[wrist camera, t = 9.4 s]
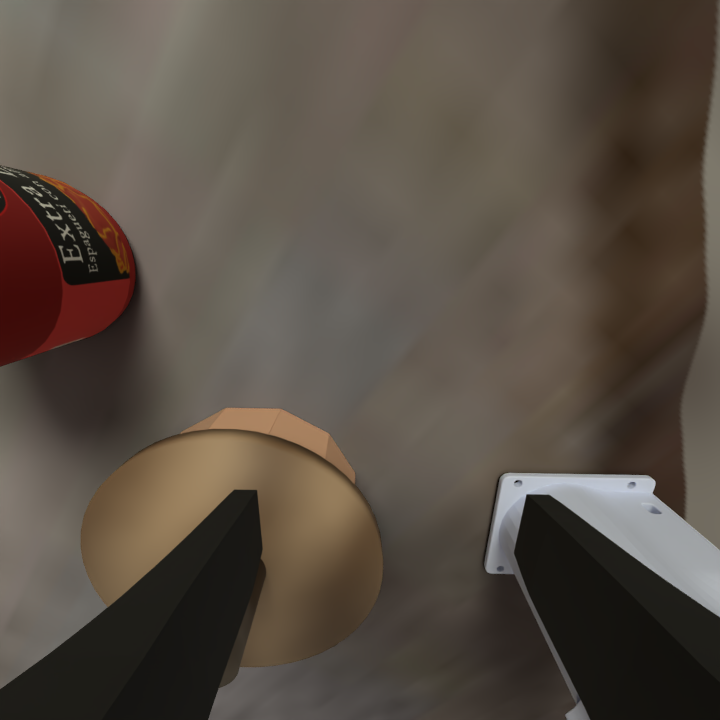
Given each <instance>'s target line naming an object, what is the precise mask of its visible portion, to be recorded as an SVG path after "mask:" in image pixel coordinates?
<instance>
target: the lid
mask: <svg viewBox="0 0 720 720" xmlns="http://www.w3.org/2000/svg"><path fill="white" fill-rule="evenodd" d="M234 489H235V490H257V493H258V504H259V514H260V525H261V535H262V545H263V551H262V555H261V559H260V563H259V568H258V572H257V576H256V580H255V584H254V588H253V592H252V595H251V598H250V601H249V603H248V606H247V609H246V612H245V615H244V618H243V621H242V623H241V626H240V629H239V632H238V635H237V638H236V640H235V643H234V646H233V649H232V652H231V655H230V657H229V660H228V663H227V666H226V669H225V672H224V674H223V677H222V680H221V683H220V686H219V688H220V687H223V686H225V685H227V684H229V683H230V682H232V681H233V680H234V679H235V677H236V676H237V674H238V671H239V667H265V666H276V665H281V664H287V663H292V662H296V661H299V660H303V659H306V658H309V657H312V656H314V655H317V654H319V653H322V652H324V651H326V650H327V649H329V648H331V647H333V646H335V645H336V644H338V643H339V642H341V641H342V640H344V639H345V638H347V637H348V636H349V635H350V634H351V633H352V632H354V631H355V630H356V629H357V628H358V627H359V626H360V624H361V623H362V622H363V621H364V620H365V619H366V617H367V616H368V614H369V613H370V611H371V609H372V608H373V606H374V604H375V602H376V599H377V597H378V594H379V592H380V587H381V583H382V578H383V556H382V544H381V536H380V531H379V528H378V524H377V521H376V518H375V516H374V514H373V512H372V509H371V507H370V505H369V503H368V502H367V500H366V499H365V497H364V496H363V495H362V493H361V492H360V490H359V489H358V488H357V487H356V486H355V484H354V483H353V482H352V481H351V480H350V479H349V478H348V477H347V476H346V475H345V474H344V473H343V472H341V471H340V470H339V469H338V468H337V467H336V466H334V465H333V464H332V463H330V462H329V461H327V460H326V459H324V458H323V457H321V456H320V455H318V454H317V453H315V452H313V451H311V450H309V449H307V448H305V447H303V446H301V445H299V444H296V443H294V442H291V441H288V440H285V439H283V438H280V437H277V436H273V435H269V434H264V433H260V432H256V431H248V430H240V429H206V430H197V431H191V432H186V433H182V434H178V435H174V436H171V437H168V438H166V439H163V440H160V441H158V442H155V443H153V444H152V445H150V446H148V447H146V448H144V449H142V450H141V451H139V452H138V453H136V454H135V455H134V456H132V457H131V458H130V459H129V460H127V461H126V462H125V463H124V464H123V465H121V466H120V467H119V468H118V469H117V470H116V471H115V472H114V473H113V474H112V475H110V477H109V478H108V479H107V480H106V481H105V482H104V483H103V484H102V485H101V486H100V487H99V488H98V490H97V492H96V493H95V495H94V496H93V498H92V499H91V501H90V503H89V505H88V508H87V510H86V512H85V515H84V518H83V523H82V528H81V552H82V558H83V563H84V566H85V569H86V572H87V575H88V577H89V579H90V581H91V583H92V585H93V587H94V589H95V590H96V592H97V593H98V595H99V596H100V598H101V599H102V600H103V602H104V603H105V604H106V605H107V607H109V606H110V605H111V604H112V603H114V602H115V601H116V600H117V599H118V598H119V597H121V596H122V595H123V594H124V593H125V592H126V591H128V590H129V589H130V588H131V587H132V586H133V585H134V584H135V583H137V582H138V581H139V580H140V579H141V578H142V577H143V576H144V575H146V574H147V573H148V572H149V571H150V570H151V569H152V568H153V567H155V566H156V565H157V564H158V563H159V562H160V561H161V560H162V559H163V558H164V557H165V556H167V555H168V554H169V553H170V552H171V551H172V550H173V549H174V548H175V547H176V546H177V545H178V544H179V543H180V542H181V541H182V540H183V539H184V538H185V537H186V536H188V535H189V534H190V533H191V532H192V531H193V530H194V529H195V528H196V527H197V526H198V525H199V524H200V523H201V522H202V521H203V520H204V519H205V518H206V517H207V516H208V515H209V514H210V513H211V512H212V511H213V510H214V509H215V508H216V507H217V506H218V505H219V504H220V503H221V502H222V501H223V500H224V499H225V498H226V497H227V496H228V495H229V494H230V493H231V492H232V491H233V490H234Z"/></svg>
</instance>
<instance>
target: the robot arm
mask: <svg viewBox="0 0 720 720" xmlns="http://www.w3.org/2000/svg"><path fill="white" fill-rule="evenodd" d="M516 480H519V481H518V482H516V483H514V482H515V481H516ZM654 487H655V480H653V479H652V478H651V477H649V476H647V475H602V474H542V473H505V474H503V475H502V476H501V477H500V480H499V485H498V491H497V496H496V502H495V507H494V512H493V518H492V523H491V529H490V534H489V540H488V545H487V551H486V556H485V561H484V567H485V570H486V571H487V572H488V573H491V574H515V576H516V578H517V581H518V583H519V585H520V587H521V589H522V591H523V593H524V595H525V597H526V600H527V602H528V604H529V606H530V608H531V610H532V612H533V614H534V616H535V619H536V621H537V623H538V625H539V627H540V629H541V631H542V633H543V635H544V638H545V640H546V642H547V644H548V646H549V648H550V650H551V652H552V654H553V657H554V659H555V661H556V663H557V665H558V667H559V669H560V671H561V673H562V676H563V678H564V680H565V682H566V684H567V686H568V688H569V690H570V692H571V695H572V697H573V699H574V701H575V703H576V706H575V707H574V708H573V709H572V710H570V711H569V712H567V713H566V715H565V717H566V719H567V720H720V550H719V549H718V548H717V547H715V546H714V545H713V544H712V543H711V542H709V541H708V540H707V539H706V538H705V537H703V536H702V535H701V534H700V533H699V532H698V531H696V530H695V529H694V528H693V527H692V526H690V525H689V524H688V523H687V522H686V521H684V520H683V519H682V518H681V517H680V516H678V515H677V514H676V513H675V512H674V511H672V510H671V509H670V508H669V507H668V506H667V505H665V504H664V503H663V502H662V501H661V500H659V499H658V498H657V497H656V496H655V495H653V494H652V493H653V490H654ZM262 551H263V545H262V535H261V525H260V514H259V504H258V493H257V490H235V489H234V490H233V491H232V492H231V493H230V494H229V495H228V496H227V497H226V498H225V499H224V500H223V501H222V502H221V503H220V504H219V505H218V506H217V507H216V508H215V509H214V510H213V511H212V512H211V513H210V514H209V515H208V516H207V517H206V518H205V519H204V520H203V521H202V522H201V523H200V524H199V525H198V526H197V527H196V528H195V529H194V530H193V531H192V532H191V533H190V534H189V535H188V536H186V537H185V538H184V539H183V540H182V541H181V542H180V543H179V544H178V545H177V546H176V547H175V548H174V549H173V550H172V551H171V552H170V553H169V554H168V555H167V556H165V557H164V558H163V559H162V560H161V561H160V562H159V563H158V564H157V565H156V566H155V567H153V568H152V569H151V570H150V571H149V572H148V573H147V574H146V575H144V576H143V577H142V578H141V579H140V580H139V581H138V582H137V583H135V584H134V585H133V586H132V587H131V588H130V589H129V590H128V591H126V592H125V593H124V594H123V595H122V596H121V597H119V598H118V599H117V600H116V601H115V602H114V603H112V604H111V605H110V606H109V607H108V608H106V609H105V610H104V611H103V612H102V613H100V614H99V615H98V616H97V617H96V618H94V619H93V620H92V621H91V622H89V623H88V624H87V625H86V626H84V627H83V628H82V629H80V630H79V631H78V632H77V633H75V634H74V635H73V636H72V637H70V638H69V639H68V640H67V641H65V642H64V643H63V644H61V645H60V646H59V647H57V648H56V649H55V650H54V651H52V652H51V653H50V654H48V655H47V656H46V657H44V658H43V659H41V660H40V661H39V662H37V663H36V664H35V665H33V666H32V667H30V668H29V669H28V670H26V671H25V672H23V673H22V674H21V675H19V676H18V677H17V678H15V679H14V680H12V681H11V682H10V683H8V684H7V685H6V686H4V687H3V688H1V689H0V720H208V718H209V715H210V712H211V709H212V706H213V703H214V700H215V697H216V694H217V691H218V688H219V686H220V683H221V680H222V677H223V674H224V672H225V669H226V666H227V663H228V660H229V657H230V655H231V652H232V649H233V646H234V643H235V640H236V638H237V635H238V632H239V629H240V626H241V623H242V621H243V618H244V615H245V612H246V609H247V606H248V603H249V601H250V598H251V595H252V592H253V588H254V584H255V580H256V576H257V572H258V568H259V563H260V559H261V555H262Z"/></svg>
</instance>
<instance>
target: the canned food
mask: <svg viewBox="0 0 720 720" xmlns="http://www.w3.org/2000/svg"><path fill="white" fill-rule="evenodd" d="M134 285H135V264H134V259H133V255H132V251H131V248H130V246H129V243H128V241H127V239H126V236H125V235H124V233H123V232H122V230H121V228H120V227H119V225H118V224H117V222H116V221H115V220H114V219H113V218H112V217H111V216H110V214H109V213H108V212H107V211H106V210H105V209H104V208H103V207H101V206H100V205H99V204H98V203H96V202H95V201H94V200H93V199H91V198H90V197H88V196H87V195H85V194H83V193H82V192H80V191H78V190H76V189H75V188H73V187H71V186H69V185H68V184H66V183H64V182H61V181H58V180H56V179H53V178H50V177H47V176H43V175H39V174H35V173H30V172H26V171H22V170H18V169H13V168H9V167H5V166H1V165H0V366H3V365H6V364H9V363H12V362H15V361H18V360H21V359H25V358H28V357H31V356H34V355H37V354H40V353H43V352H46V351H49V350H52V349H55V348H58V347H61V346H64V345H67V344H70V343H73V342H76V341H79V340H82V339H85V338H88V337H91V336H93V335H95V334H97V333H99V332H101V331H103V330H104V329H105V328H107V327H108V326H109V325H110V324H111V323H112V322H114V321H115V320H116V319H117V318H118V317H119V316H120V315H121V314H122V313H123V311H124V310H125V309H126V307H127V306H128V304H129V302H130V299H131V297H132V295H133V291H134Z"/></svg>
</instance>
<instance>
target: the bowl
mask: <svg viewBox="0 0 720 720" xmlns="http://www.w3.org/2000/svg"><path fill="white" fill-rule="evenodd" d="M206 429H240V430H248V431H256V432H260V433H264V434H269V435H273V436H277V437H280V438H283V439H285V440H288V441H291V442H294V443H296V444H299V445H301V446H303V447H305V448H307V449H309V450H311V451H313V452H315V453H317V454H318V455H320V456H321V457H323V458H324V459H326V460H327V461H329V462H330V463H332V464H333V465H334V466H336V467H337V468H338V469H339V470H340V471H341V472H343V473H344V474H345V475H346V476H347V477H348V478H349V479H350V480H351V481H352V482H353V483H354V484H355V472H354V471H353V469H352V468H351V466H350V465H349V463H348V462H347V460H346V458H345V457H344V455H343V454H342V452H341V451H340V449H339V448H338V446H337V445H336V443H335V442H334V440H333V439H332V437H331V436H330V434H329V433H327V432H325V431H323V430H321V429H319V428H317V427H315V426H313V425H311V424H309V423H307V422H306V421H304V420H302V419H300V418H298V417H296V416H294V415H292V414H290V413H288V412H286V411H284V410H283V409H262V408H225V409H223V410H221V411H219V412H217V413H216V414H214V415H212V416H210V417H208V418H206V419H204V420H202V421H201V422H199V423H197V424H195V425H193V426H191V427H189V428H188V429H186V430H184V431H182V432H181V433H180V434H182V433H186V432H191V431H197V430H206Z"/></svg>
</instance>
